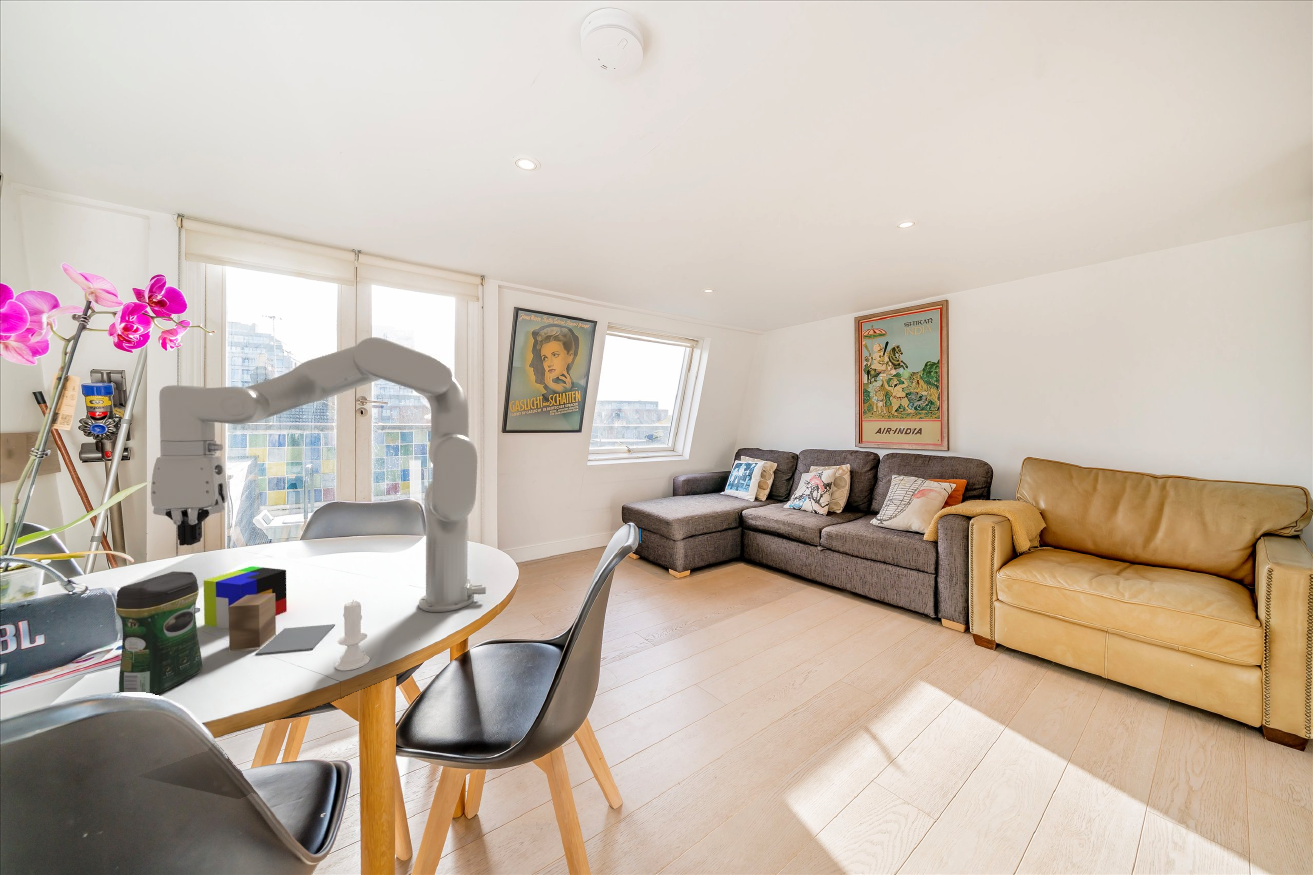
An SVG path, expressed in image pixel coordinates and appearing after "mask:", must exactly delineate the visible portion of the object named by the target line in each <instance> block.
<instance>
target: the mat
mask: <svg viewBox="0 0 1313 875" xmlns="http://www.w3.org/2000/svg"><path fill="white" fill-rule="evenodd" d="M335 626H336V624H335V623H334V624H320V625H311V626H310V625H308V626H307V625H306V626H298V627H297V626H296V627H284V628H283V629H282V630H280V632H278V634H277V633H276V636H275V637H273V638H272V639H271V640H270V641H269V642H268V643H266V644H265V645H264V646H263V647H262V648H261V649H258V650H257V652H255V656H258V655H269V654H278V653H279V654H281V653H290V652H300V651H311V650H314V649H315V648H316V646H317V645H318V644H320V642H322V640H323V639H324V638H325V637H326V636H327V635H328V633H329V632H330V631H332V629H334V627H335Z"/></svg>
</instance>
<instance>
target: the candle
mask: <svg viewBox="0 0 1313 875" xmlns="http://www.w3.org/2000/svg"><path fill="white" fill-rule="evenodd" d="M342 614H343V615H342V617H343V619H344V621H343V622H344V624H343V625H344V626H343V628H344V636H342V637H340V638H338V640H337V643H338V645H341V646H346V648H345V651H344V653H343V655H341V656H340V659H339V661H338V662H337V663H336V664H335V669H336V670H338V671H341V672H344V671H353V670H356V669H359V668H361V667H364V666H365V665H367V664H368V663H369V662H370V657H369V656H368V655H366V653H365V651H364V650H362V648H361V646H360V645H359V644H361V642H364V641H365V640H366V639H367V638H368V634H367V633H364V632H361V631H362V630H361V629H362V627H361V626H362V625H361V624H362V623H361V622H362V619H363V616H362V604H361V602H360V601H357V600H355V599H353V600H352V601H351V602H347V603H345V604H344V606H343V613H342Z"/></svg>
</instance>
